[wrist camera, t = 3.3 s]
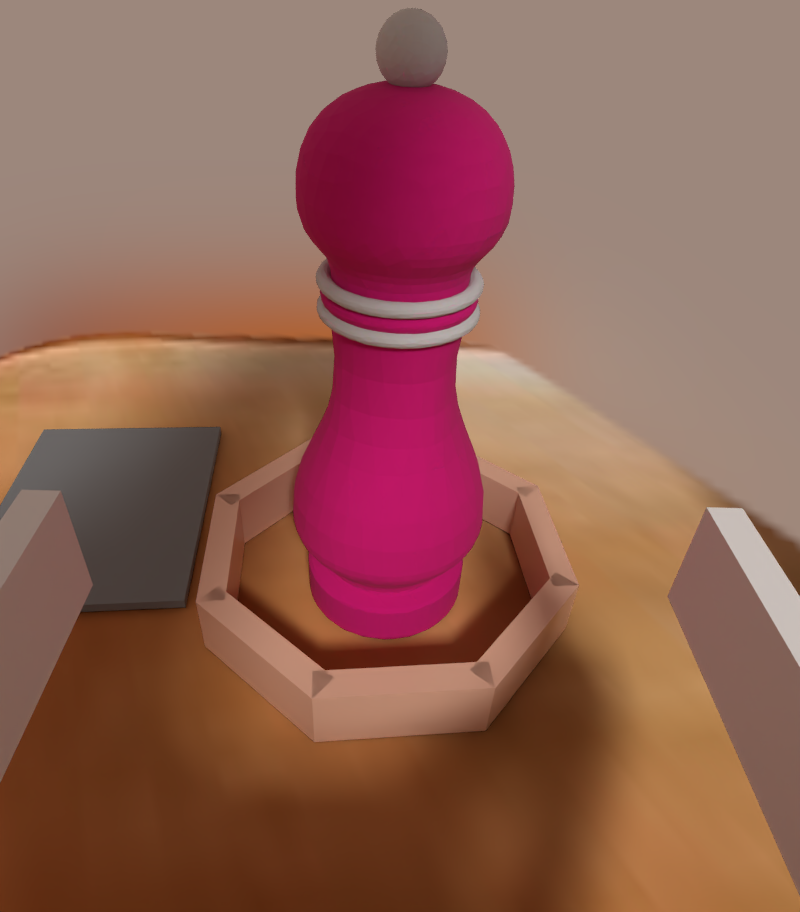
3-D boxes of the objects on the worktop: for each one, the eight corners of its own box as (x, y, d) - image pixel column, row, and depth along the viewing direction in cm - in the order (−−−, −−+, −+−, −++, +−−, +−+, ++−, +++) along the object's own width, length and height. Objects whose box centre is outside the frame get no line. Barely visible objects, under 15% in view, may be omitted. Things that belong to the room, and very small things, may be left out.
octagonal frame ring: (508, 472, 34) (516, 433, 33) (600, 723, 23) (618, 680, 21) (232, 479, 33) (226, 437, 31) (187, 750, 21) (175, 707, 20)
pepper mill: (453, 672, 24) (557, 30, 12) (270, 627, 26) (202, 3, 13) (482, 540, 30) (573, 11, 18) (331, 508, 31) (321, -7, 19)
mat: (221, 433, 36) (220, 426, 35) (185, 607, 26) (184, 600, 26) (46, 435, 35) (44, 429, 34) (-57, 617, 25) (-61, 610, 25)
